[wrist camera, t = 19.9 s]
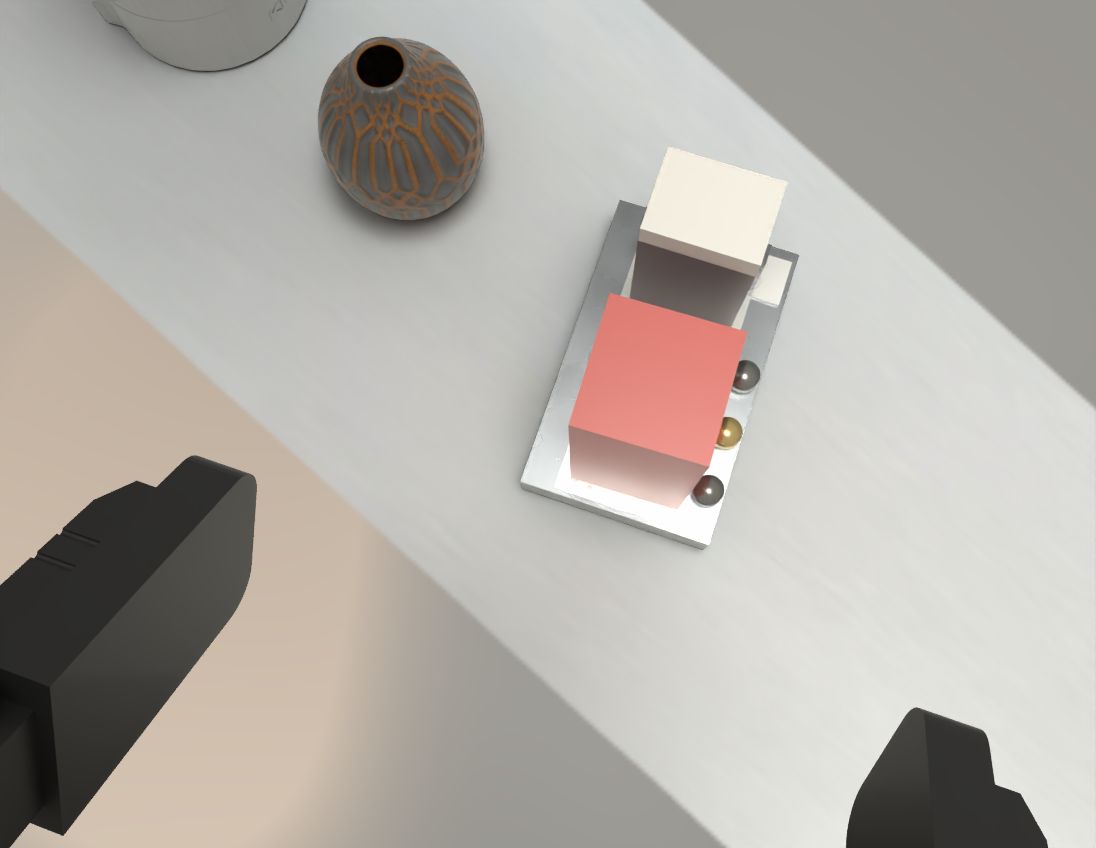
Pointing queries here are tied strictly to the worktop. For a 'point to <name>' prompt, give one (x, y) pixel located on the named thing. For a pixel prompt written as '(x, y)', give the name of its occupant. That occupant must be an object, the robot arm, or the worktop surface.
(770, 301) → the ball-studded metal plate
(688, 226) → the block
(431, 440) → the worktop surface
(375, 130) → the vase
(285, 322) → the worktop surface
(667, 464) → the block
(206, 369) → the worktop surface
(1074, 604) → the worktop surface
